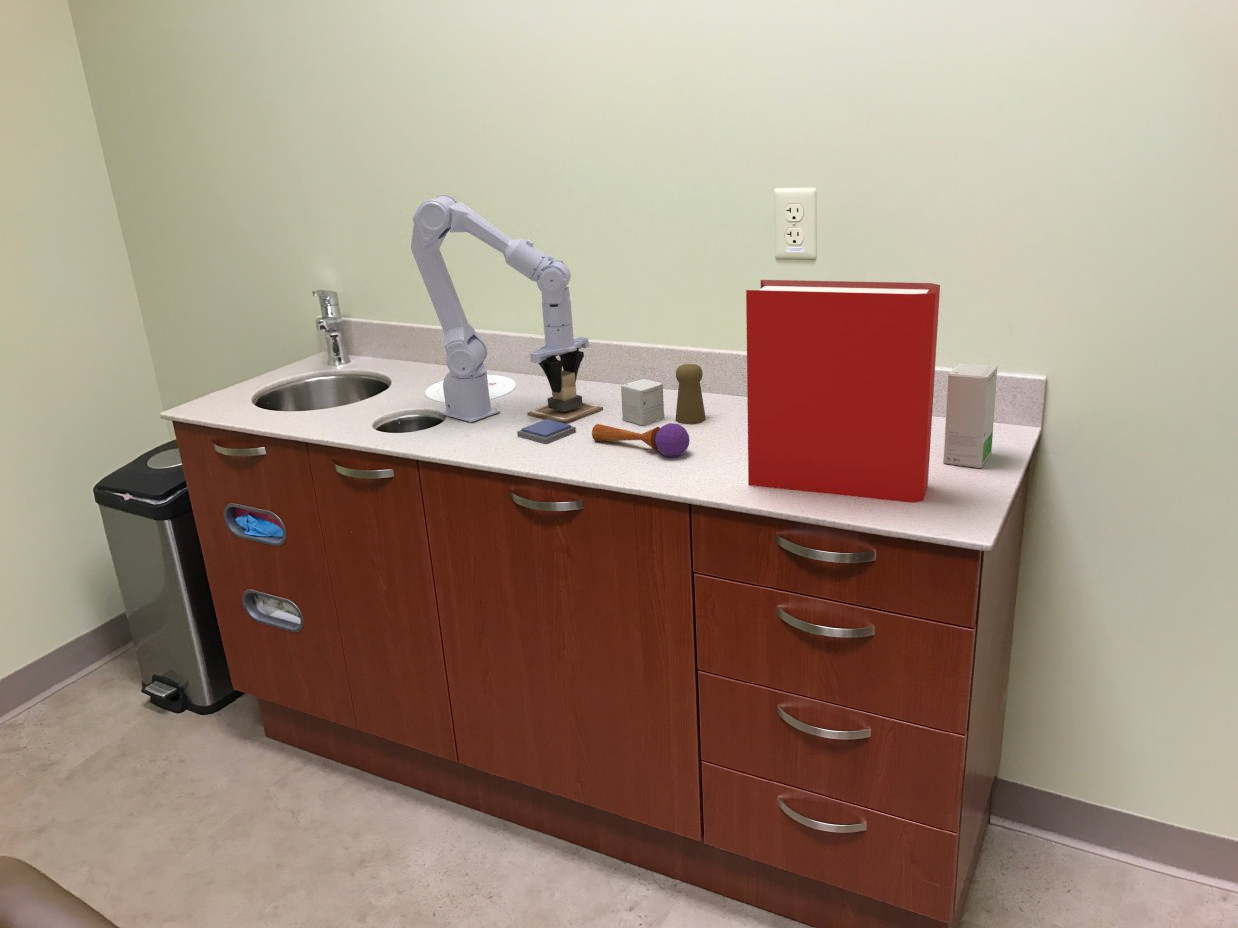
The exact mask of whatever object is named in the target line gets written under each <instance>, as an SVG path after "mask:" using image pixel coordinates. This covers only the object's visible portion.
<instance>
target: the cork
mask: <svg viewBox="0 0 1238 928" xmlns="http://www.w3.org/2000/svg"><path fill="white" fill-rule="evenodd" d="M675 378H676V380H677V382H678V390H677V399H676V411H675V422H676V423H677V424H680V425H695V424H696V425H697V424H701V423H703V422H705V421H706V420H707V417H706V411H705V405H704V397H703V392H702V388H701V387H702V386H701V380H702V379H703V369H702V367H701V366H700V365H699V364H695V363H694V364H693V363H686V364H681V365H679V366H677V368H676V370H675Z"/></svg>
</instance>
